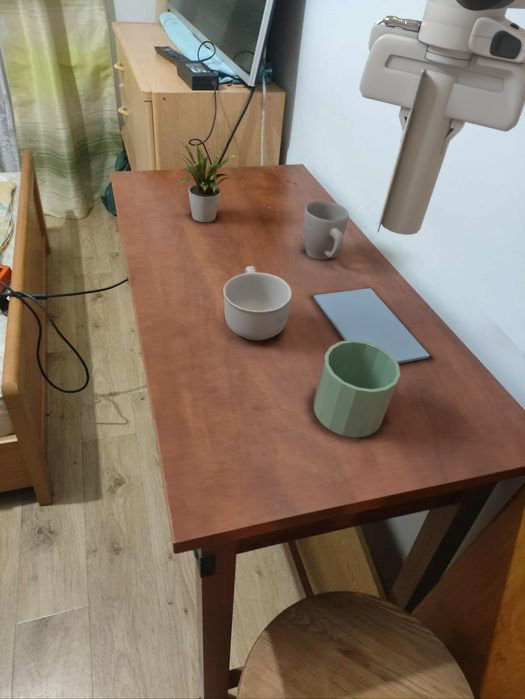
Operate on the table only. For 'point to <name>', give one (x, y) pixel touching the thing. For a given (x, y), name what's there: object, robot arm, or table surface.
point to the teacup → (256, 304)
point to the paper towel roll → (418, 157)
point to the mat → (370, 323)
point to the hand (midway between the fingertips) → (422, 148)
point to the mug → (324, 229)
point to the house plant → (204, 185)
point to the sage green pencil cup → (355, 388)
